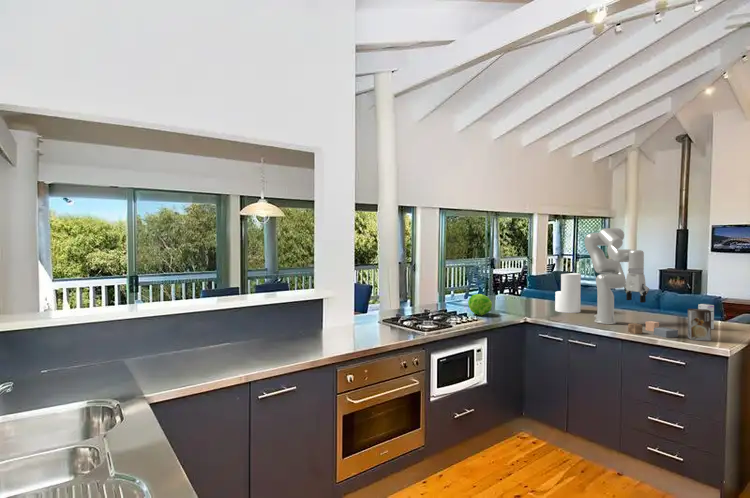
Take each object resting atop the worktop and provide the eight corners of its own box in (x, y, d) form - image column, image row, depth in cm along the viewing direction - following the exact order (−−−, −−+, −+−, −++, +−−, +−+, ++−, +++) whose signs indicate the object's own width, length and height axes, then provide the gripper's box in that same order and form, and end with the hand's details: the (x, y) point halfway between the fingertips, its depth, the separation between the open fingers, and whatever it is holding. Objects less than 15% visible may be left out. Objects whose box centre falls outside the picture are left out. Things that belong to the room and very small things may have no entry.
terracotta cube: (645, 330, 263) (645, 321, 263) (650, 329, 265) (650, 320, 265) (654, 331, 258) (654, 323, 258) (659, 330, 261) (659, 322, 261)
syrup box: (714, 329, 264) (714, 304, 264) (706, 329, 263) (707, 305, 262) (704, 327, 270) (705, 303, 269) (697, 327, 268) (697, 303, 268)
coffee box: (707, 338, 240) (707, 309, 240) (711, 341, 234) (711, 311, 234) (687, 337, 243) (687, 308, 243) (690, 339, 237) (691, 310, 237)
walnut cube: (628, 332, 257) (628, 323, 257) (635, 331, 258) (635, 323, 258) (635, 334, 252) (635, 325, 252) (642, 333, 254) (642, 324, 253)
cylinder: (585, 311, 329) (585, 273, 328) (571, 313, 319) (572, 274, 318) (563, 308, 343) (564, 272, 342) (550, 310, 333) (550, 273, 333)
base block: (653, 335, 251) (653, 328, 251) (665, 334, 253) (665, 327, 252) (666, 338, 243) (666, 330, 243) (677, 337, 245) (677, 330, 245)
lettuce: (492, 316, 323) (494, 295, 324) (488, 318, 305) (491, 296, 305) (469, 312, 329) (471, 292, 330) (464, 313, 311) (467, 292, 311)
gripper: (618, 270, 262) (618, 299, 262) (643, 272, 245) (642, 303, 246) (629, 270, 264) (629, 299, 264) (654, 272, 247) (653, 303, 247)
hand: (635, 301), depth 255 cm, fingers open, 9 cm apart
